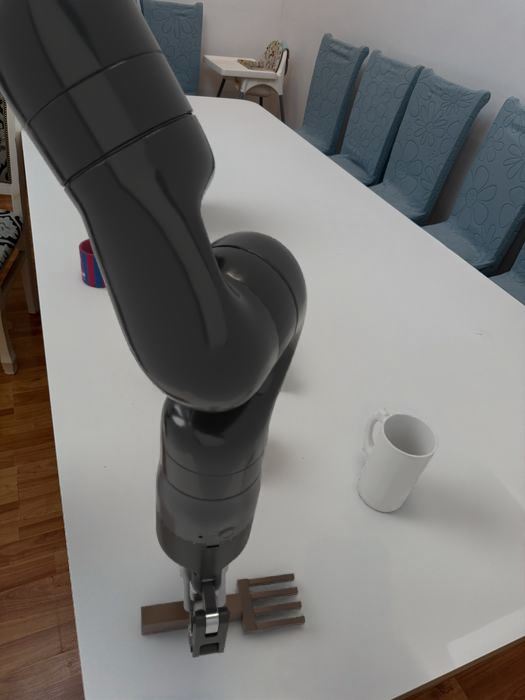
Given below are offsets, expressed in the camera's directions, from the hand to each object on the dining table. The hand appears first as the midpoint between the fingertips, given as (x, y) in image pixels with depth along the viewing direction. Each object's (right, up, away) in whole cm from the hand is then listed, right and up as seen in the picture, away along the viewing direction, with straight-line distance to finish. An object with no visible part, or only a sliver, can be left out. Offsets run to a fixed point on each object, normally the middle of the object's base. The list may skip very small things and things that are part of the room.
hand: (196, 591), depth 47 cm
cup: (-23, +37, +48) cm, 65 cm away
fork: (+2, -5, +5) cm, 7 cm away
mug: (+21, +5, +20) cm, 30 cm away
